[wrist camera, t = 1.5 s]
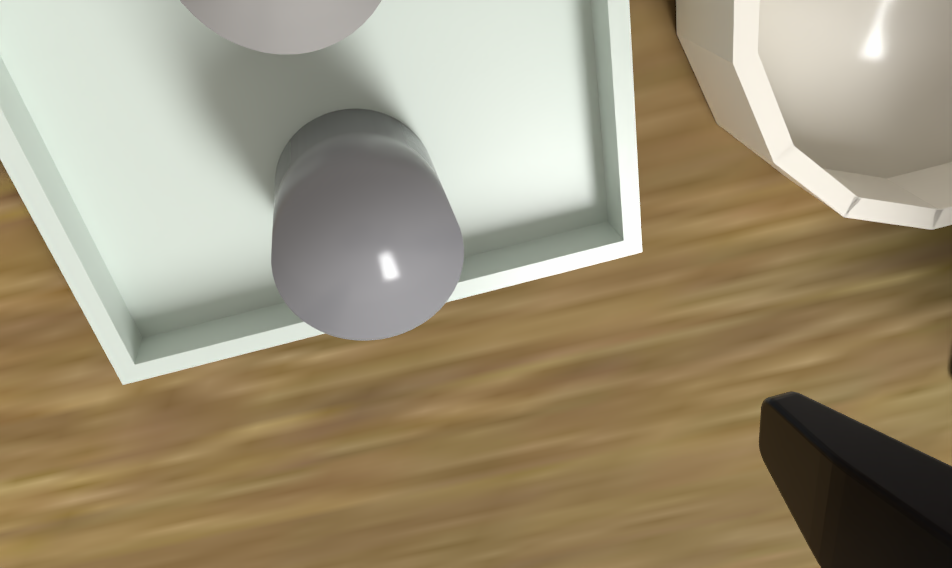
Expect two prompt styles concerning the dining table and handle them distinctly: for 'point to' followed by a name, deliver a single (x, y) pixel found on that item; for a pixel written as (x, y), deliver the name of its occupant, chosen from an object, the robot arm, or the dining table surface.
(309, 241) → the grey rounded cylinder
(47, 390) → the dining table surface
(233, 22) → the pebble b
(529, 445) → the dining table surface
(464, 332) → the dining table surface
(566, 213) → the tray
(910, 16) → the bowl
